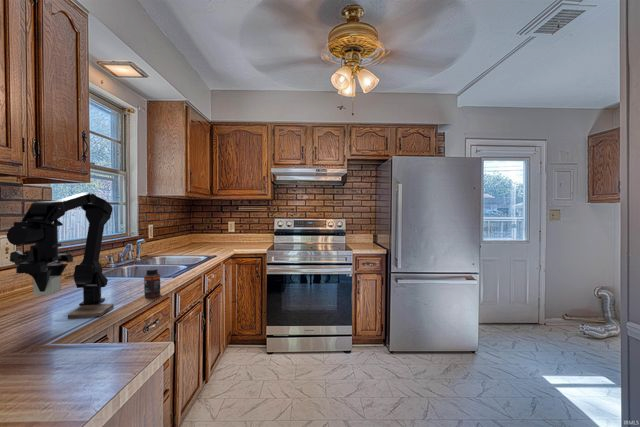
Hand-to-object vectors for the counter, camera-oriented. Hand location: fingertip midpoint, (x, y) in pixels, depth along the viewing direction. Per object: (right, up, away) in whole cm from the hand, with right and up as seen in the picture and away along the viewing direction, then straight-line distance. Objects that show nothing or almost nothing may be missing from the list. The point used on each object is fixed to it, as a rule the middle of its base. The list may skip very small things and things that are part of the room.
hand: (47, 289), depth 103 cm
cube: (0, -1, 0) cm, 1 cm away
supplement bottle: (+18, -10, +30) cm, 36 cm away
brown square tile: (+7, -11, +10) cm, 16 cm away
